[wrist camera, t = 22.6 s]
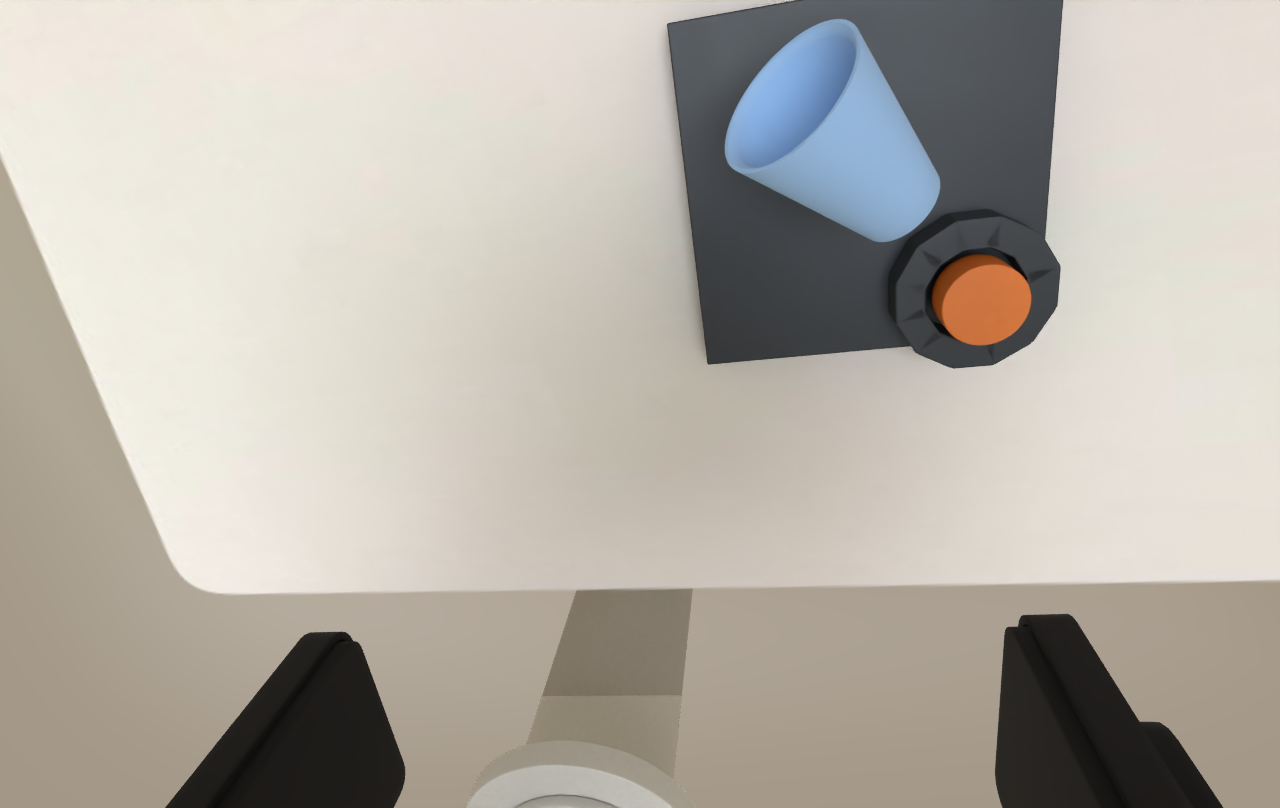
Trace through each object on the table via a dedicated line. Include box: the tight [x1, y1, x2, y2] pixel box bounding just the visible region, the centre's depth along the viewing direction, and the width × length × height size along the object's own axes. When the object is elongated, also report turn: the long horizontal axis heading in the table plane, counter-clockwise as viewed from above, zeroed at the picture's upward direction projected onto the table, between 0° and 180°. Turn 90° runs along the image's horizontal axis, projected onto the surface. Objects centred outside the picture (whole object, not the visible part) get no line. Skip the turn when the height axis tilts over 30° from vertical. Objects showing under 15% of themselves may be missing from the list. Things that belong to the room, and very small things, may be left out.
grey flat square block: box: [667, 0, 1063, 368], centre depth 29 cm, size 14×14×4 cm
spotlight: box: [725, 19, 940, 242], centre depth 24 cm, size 5×10×7 cm
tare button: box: [931, 254, 1031, 345], centre depth 28 cm, size 3×3×2 cm
